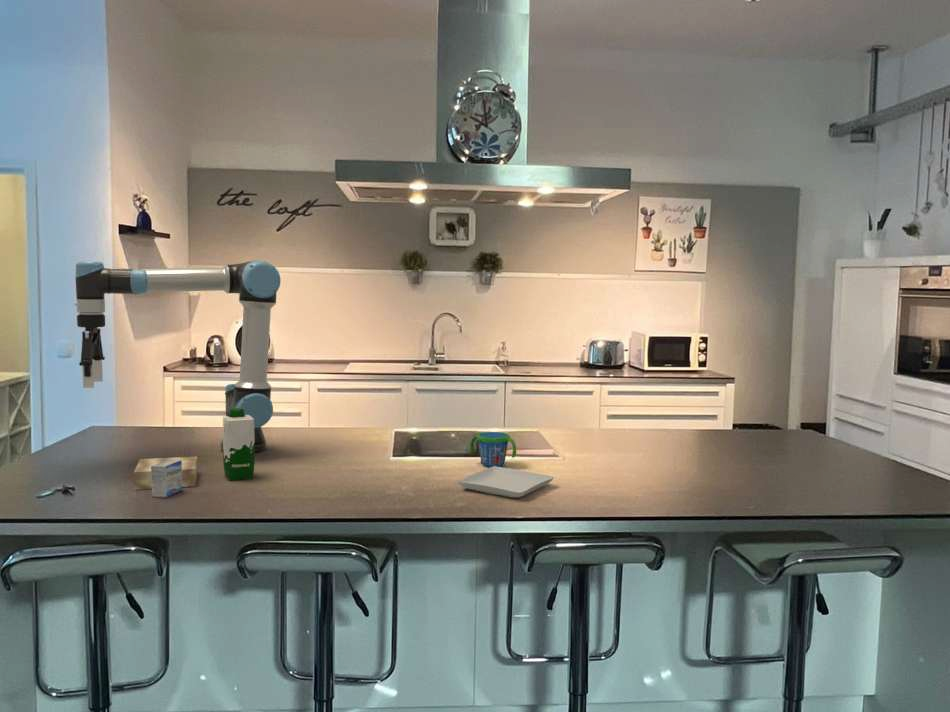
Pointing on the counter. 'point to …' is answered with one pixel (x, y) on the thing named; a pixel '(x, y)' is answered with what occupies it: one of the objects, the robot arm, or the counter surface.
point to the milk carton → (238, 445)
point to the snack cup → (493, 448)
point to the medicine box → (166, 478)
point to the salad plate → (505, 481)
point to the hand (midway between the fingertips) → (93, 384)
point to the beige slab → (144, 465)
